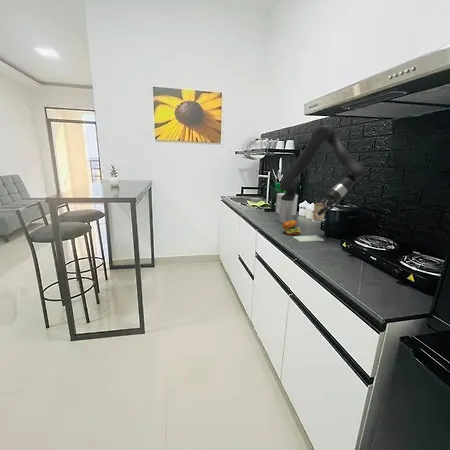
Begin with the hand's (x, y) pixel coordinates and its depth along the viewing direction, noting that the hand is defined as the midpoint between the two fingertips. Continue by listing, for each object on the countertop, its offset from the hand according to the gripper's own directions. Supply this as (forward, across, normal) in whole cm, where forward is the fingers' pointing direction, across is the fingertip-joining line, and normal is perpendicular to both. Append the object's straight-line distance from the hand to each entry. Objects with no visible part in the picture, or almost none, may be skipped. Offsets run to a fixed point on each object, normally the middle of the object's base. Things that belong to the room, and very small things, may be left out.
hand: (316, 213), depth 147 cm
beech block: (+2, 0, +4) cm, 5 cm away
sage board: (+13, 0, +9) cm, 16 cm away
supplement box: (0, -70, +22) cm, 73 cm away
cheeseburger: (+17, -12, +6) cm, 22 cm away
